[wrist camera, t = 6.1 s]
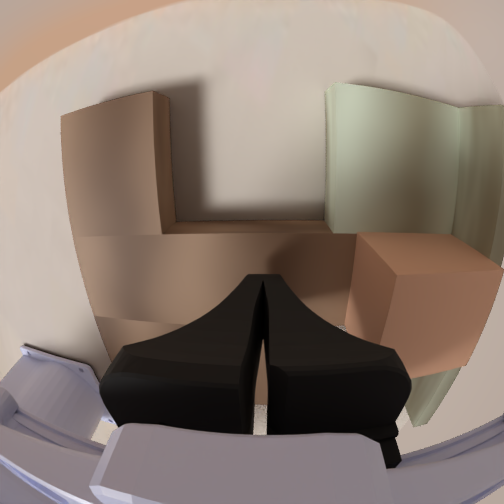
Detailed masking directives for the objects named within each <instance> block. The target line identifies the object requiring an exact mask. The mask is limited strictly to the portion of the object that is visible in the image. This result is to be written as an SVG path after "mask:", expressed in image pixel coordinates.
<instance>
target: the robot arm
mask: <svg viewBox="0 0 504 504" xmlns="http://www.w3.org/2000/svg"><path fill="white" fill-rule="evenodd" d="M263 341H264V352H265V363H266V374H267V388H268V397H267V435H253V427H254V407H255V390H256V381H257V375H258V369H259V362H260V356H261V349H262V343H263ZM20 350H21V352H22V354H23V356H22V357H21V358H20V359H19V360H18V361H17V363H16V364H15V365H14V366H13V367H12V368H11V370H10V371H9V372H8V373H7V374H6V376H5V377H4V378H3V379H2V380H1V382H0V504H475V503H477V502H478V501H480V500H481V499H483V498H485V497H486V496H488V495H489V494H491V493H493V492H494V491H496V490H497V489H498V488H500V487H501V486H503V485H504V413H503V415H502V416H500V417H498V418H496V419H494V420H492V421H490V422H488V423H486V424H484V425H482V426H480V427H478V428H476V429H474V430H472V431H469V432H467V433H465V434H462V435H460V436H457V437H455V438H452V439H450V440H447V441H444V442H441V443H439V444H436V445H433V446H430V447H427V448H424V449H421V450H418V451H414V452H411V453H407V454H403V455H400V452H399V449H398V446H397V442H396V439H395V437H397V436H398V432H399V431H398V428H397V425H396V422H395V421H396V419H397V418H398V416H399V414H400V413H401V411H402V409H403V407H404V406H405V404H406V402H407V400H408V398H409V396H410V393H411V390H412V381H411V379H410V376H409V374H408V372H407V370H406V368H405V366H404V364H403V362H402V360H401V359H400V357H399V356H398V354H397V352H396V351H395V349H392V348H389V347H385V346H382V345H379V344H375V343H372V342H369V341H366V340H363V339H361V338H358V337H356V336H353V335H351V334H349V333H347V332H345V331H343V330H341V329H339V328H337V327H336V326H334V325H332V324H330V323H329V322H327V321H325V320H324V319H322V318H321V317H320V316H318V315H317V314H316V313H314V312H313V311H312V310H311V309H309V308H308V307H307V306H306V305H305V304H304V303H303V302H302V301H301V300H300V299H299V298H298V297H297V296H296V295H295V293H294V292H293V291H292V290H291V289H290V287H289V286H288V285H287V283H286V282H285V281H284V279H283V277H282V276H281V275H280V274H247V275H246V276H245V277H244V279H243V280H242V281H241V282H240V283H239V285H238V286H237V287H236V288H235V289H234V290H233V291H232V292H231V293H230V294H229V295H228V296H227V297H226V298H225V299H224V300H223V301H222V302H221V303H219V304H218V305H217V306H216V307H215V308H213V309H212V310H211V311H209V312H208V313H206V314H205V315H203V316H202V317H200V318H198V319H196V320H194V321H193V322H191V323H189V324H187V325H185V326H183V327H181V328H179V329H177V330H174V331H172V332H169V333H167V334H164V335H161V336H158V337H155V338H152V339H149V340H145V341H141V342H137V343H133V344H129V345H124V346H123V347H122V348H121V349H120V351H119V352H118V354H117V355H116V357H115V358H114V360H113V362H112V363H111V365H110V366H109V368H108V370H107V371H106V373H105V375H104V376H103V378H102V380H101V382H100V384H99V382H98V380H97V378H96V376H95V374H94V372H93V370H92V368H91V367H90V366H89V365H87V364H83V363H79V362H76V361H72V360H68V359H65V358H61V357H58V356H54V355H51V354H48V353H45V352H42V351H39V350H36V349H33V348H30V347H27V346H24V345H22V346H21V347H20ZM100 420H102V421H105V422H109V423H112V424H116V425H117V426H118V428H117V429H116V430H114V431H112V433H111V436H110V438H109V440H108V442H107V445H103V444H100V443H98V442H95V441H92V440H91V438H92V436H93V434H94V432H95V430H96V428H97V426H98V424H99V422H100Z"/></svg>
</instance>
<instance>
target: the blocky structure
mask: <svg viewBox="0 0 504 504" xmlns="http://www.w3.org/2000/svg"><path fill="white" fill-rule="evenodd" d="M325 113H326V185H325V213H324V220H232V221H186V222H176V214H175V203H174V191H173V177H172V162H171V142H170V108H169V98H168V97H166V96H164V95H161V94H159V93H157V92H155V91H149V92H144V93H139V94H135V95H130V96H126V97H122V98H118V99H114V100H110V101H106V102H103V103H99V104H96V105H93V106H89V107H86V108H83V109H80V110H77V111H74V112H71V113H68V114H65V115H62V116H61V146H62V162H63V174H64V183H65V192H66V199H67V206H68V213H69V219H70V224H71V230H72V235H73V240H74V245H75V249H76V254H77V258H78V262H79V266H80V270H81V274H82V278H83V281H84V285H85V288H86V292H87V295H88V299H89V302H90V305H91V308H92V311H93V314H94V317H95V320H96V323H97V326H98V329H99V331H100V334H101V337H102V339H103V342H104V345H105V347H106V350H107V352H108V355H109V357H110V360H111V362H113V360H114V358H115V357H116V355H117V354H118V352H119V351H120V349H121V348H122V347H123V346H124V345H129V344H133V343H137V342H141V341H145V340H149V339H152V338H155V337H158V336H161V335H164V334H167V333H169V332H172V331H174V330H177V329H179V328H181V327H183V326H185V325H187V324H189V323H191V322H193V321H194V320H196V319H198V318H200V317H202V316H203V315H205V314H206V313H208V312H209V311H211V310H212V309H213V308H215V307H216V306H217V305H218V304H219V303H221V302H222V301H223V300H224V299H225V298H226V297H227V296H228V295H229V294H230V293H231V292H232V291H233V290H234V289H235V288H236V287H237V286H238V285H239V283H240V282H241V281H242V280H243V279H244V277H245V276H246V275H247V274H280V275H281V276H282V277H283V279H284V281H285V282H286V283H287V285H288V286H289V287H290V289H291V290H292V291H293V292H294V293H295V295H296V296H297V297H298V298H299V299H300V300H301V301H302V302H303V303H304V304H305V305H306V306H307V307H308V308H309V309H311V310H312V311H313V312H314V313H316V314H317V315H318V316H320V317H321V318H322V319H324V320H325V321H327V322H329V323H330V324H332V325H334V326H339V325H345V324H344V323H345V318H346V312H347V306H348V300H349V293H350V287H351V280H352V272H353V265H354V256H355V248H356V238H357V232H389V233H427V234H451V235H453V236H455V237H456V238H458V239H459V240H461V241H463V242H464V243H466V244H467V245H469V246H471V247H472V248H474V249H475V250H477V251H478V252H480V253H481V254H483V255H484V256H486V257H487V258H489V259H490V260H491V261H493V262H494V263H496V264H497V265H499V266H500V267H501V264H502V261H503V257H504V106H503V105H487V106H473V107H462V108H457V107H454V106H451V105H448V104H445V103H441V102H438V101H434V100H431V99H427V98H423V97H419V96H415V95H411V94H406V93H401V92H397V91H392V90H386V89H381V88H375V87H369V86H362V85H354V84H346V83H337V82H335V83H334V84H333V85H332V86H330V87H329V88H328V89H327V90H326V91H325ZM460 369H461V367H459V368H455V369H451V370H447V371H443V372H439V373H435V374H431V375H426V376H422V377H417V378H412V379H411V381H412V390H411V393H410V396H409V398H408V400H407V402H406V404H405V407H406V410H407V412H408V415H409V417H410V420H411V423H412V425H413V427H417V426H421V425H424V424H427V423H428V421H429V420H430V418H431V417H432V416H433V414H434V413H435V411H436V410H437V408H438V407H439V405H440V403H441V402H442V400H443V399H444V397H445V395H446V394H447V392H448V390H449V389H450V387H451V385H452V384H453V382H454V380H455V378H456V376H457V375H458V373H459V371H460ZM267 397H268V388H267V374H266V363H265V352H264V341H263V343H262V349H261V356H260V362H259V369H258V375H257V381H256V390H255V404H265V405H267Z"/></svg>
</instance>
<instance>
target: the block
mask: <svg viewBox="0 0 504 504" xmlns="http://www.w3.org/2000/svg"><path fill="white" fill-rule="evenodd" d="M503 272H504V269H503V268H501V267H500V266H499V265H497V264H496V263H494V262H493V261H491V260H490V259H489V258H487V257H486V256H484V255H483V254H481V253H480V252H478V251H477V250H475V249H474V248H472V247H471V246H469V245H467V244H466V243H464V242H463V241H461V240H459V239H458V238H456V237H455V236H453V235H451V234H427V233H389V232H357V238H356V248H355V256H354V265H353V272H352V280H351V287H350V293H349V300H348V306H347V312H346V318H345V323H344V324H345V327H346V330H347V333H349V334H351V335H353V336H356V337H358V338H361V339H363V340H366V341H369V342H372V343H375V344H379V345H382V346H385V347H389V348H392V349H395V351H396V352H397V354H398V356H399V357H400V359H401V360H402V362H403V364H404V366H405V368H406V370H407V372H408V374H409V376H410V379H412V378H417V377H422V376H426V375H431V374H435V373H439V372H443V371H447V370H451V369H455V368H459V367H462V366H466V365H467V363H468V361H469V359H470V357H471V355H472V353H473V351H474V349H475V347H476V344H477V343H478V340H479V338H480V336H481V334H482V331H483V329H484V327H485V324H486V321H487V319H488V316H489V314H490V311H491V309H492V306H493V303H494V301H495V298H496V294H497V292H498V289H499V286H500V282H501V279H502V276H503Z"/></svg>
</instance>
